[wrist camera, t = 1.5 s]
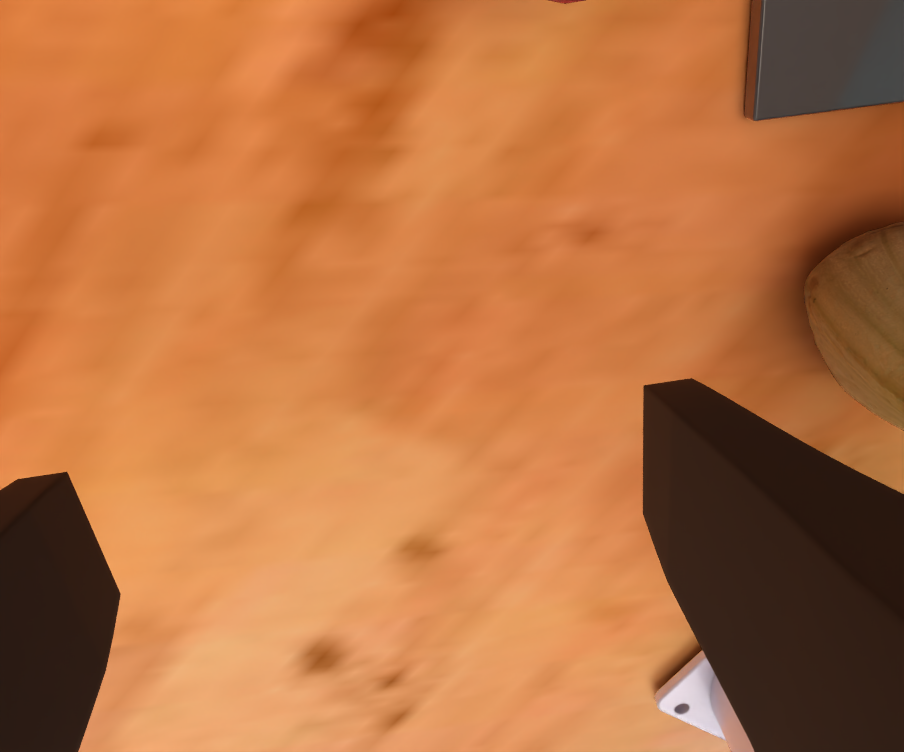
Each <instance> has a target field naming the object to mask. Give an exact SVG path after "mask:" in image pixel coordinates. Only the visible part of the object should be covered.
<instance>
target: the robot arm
mask: <svg viewBox="0 0 904 752" xmlns="http://www.w3.org/2000/svg"><path fill="white" fill-rule="evenodd" d="M643 515H644V518H645V521H646V524H647V526H648V529H649V532H650V535H651V538H652V541H653V544H654V547H655V549H656V552H657V555H658V558H659V560H660V563H661V566H662V568H663V571H664V574H665V576H666V579H667V581H668V583H669V585H670V588H671V590H672V592H673V594H674V596H675V598H676V600H677V601H678V603H679V605H680V607H681V609H682V611H683V613H684V615H685V617H686V619H687V621H688V623H689V625H690V627H691V629H692V631H693V633H694V635H695V637H696V639H697V641H698V642H699V644H700V646H701V648H702V651H700V652H699V653H698V654H697V655H696V656H695V657H694V658H693V659H692V660H691V661H690V662H688V663H687V664H686V665H685V666H684V667H683V668H682V669H681V670H680V671H679V672H678V673H676V674H675V675H674V676H673V677H672V678H671V679H670V680H669V681H668V682H667V683H666V684H664V685H663V686H662V687H661V688H660V689H659V690H658V691H657V693H656V694H655V697H654V699H655V701H656V704H657V707H658V709H659V710H661V711H662V712H664V713H666V714H669V715H671V716H673V717H675V718H677V719H680V720H682V721H684V722H686V723H688V724H690V725H693V726H695V727H697V728H699V729H701V730H704V731H706V732H708V733H710V734H712V735H715V736H717V737H719V738H721V739H723V740H725V741H727V744H728V746H729V748H730V750H731V752H904V494H902V493H900V492H898V491H896V490H894V489H892V488H890V487H888V486H886V485H884V484H882V483H880V482H878V481H876V480H874V479H872V478H870V477H868V476H866V475H863V474H861V473H859V472H858V471H856V470H854V469H852V468H850V467H848V466H846V465H844V464H842V463H841V462H839V461H837V460H835V459H833V458H831V457H829V456H827V455H826V454H824V453H822V452H820V451H818V450H816V449H815V448H813V447H811V446H809V445H808V444H806V443H804V442H802V441H800V440H799V439H797V438H795V437H793V436H792V435H790V434H788V433H786V432H785V431H783V430H781V429H779V428H778V427H776V426H774V425H772V424H771V423H769V422H767V421H766V420H764V419H762V418H761V417H759V416H757V415H755V414H754V413H752V412H750V411H749V410H747V409H745V408H744V407H742V406H740V405H738V404H737V403H735V402H733V401H732V400H730V399H728V398H727V397H725V396H723V395H721V394H720V393H718V392H716V391H714V390H713V389H711V388H709V387H707V386H705V385H704V384H702V383H700V382H698V381H696V380H694V379H692V378H691V379H684V380H677V381H671V382H664V383H657V384H651V385H644V410H643ZM119 600H120V592H119V589H118V587H117V585H116V582H115V580H114V578H113V576H112V573H111V571H110V569H109V566H108V564H107V562H106V560H105V557H104V555H103V553H102V550H101V548H100V546H99V544H98V541H97V539H96V537H95V534H94V532H93V530H92V528H91V525H90V523H89V521H88V518H87V516H86V514H85V512H84V509H83V507H82V505H81V502H80V500H79V498H78V496H77V493H76V491H75V489H74V486H73V484H72V482H71V480H70V477H69V475H68V473H67V472H63V473H56V474H50V475H43V476H36V477H30V478H23V479H17V480H16V481H14V482H13V483H11V484H9V485H8V486H6V487H5V488H3V489H2V490H0V752H78V750H79V748H80V745H81V742H82V739H83V736H84V733H85V730H86V728H87V725H88V722H89V719H90V716H91V713H92V710H93V707H94V704H95V701H96V698H97V695H98V692H99V689H100V686H101V683H102V680H103V677H104V674H105V671H106V667H107V662H108V658H109V653H110V648H111V643H112V639H113V634H114V628H115V623H116V617H117V611H118V606H119Z"/></svg>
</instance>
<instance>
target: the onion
mask: <svg viewBox="0 0 904 752" xmlns="http://www.w3.org/2000/svg"><path fill="white" fill-rule="evenodd" d="M549 1H554V2H559V3H564V4H566V3H572V2H578V1H584V0H549Z"/></svg>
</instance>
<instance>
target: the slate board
mask: <svg viewBox="0 0 904 752" xmlns="http://www.w3.org/2000/svg"><path fill="white" fill-rule="evenodd" d="M901 102H904V0H752V7H751V22H750V37H749V52H748V66H747V81H746V96H745V111H744V115H745V117H746V118H748V119H751V120H753V121H761V120H769V119H777V118H785V117H792V116H800V115H808V114H816V113H823V112H831V111H839V110H847V109H854V108H862V107H870V106H878V105H885V104H893V103H901Z"/></svg>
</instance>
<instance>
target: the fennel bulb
mask: <svg viewBox="0 0 904 752" xmlns="http://www.w3.org/2000/svg"><path fill="white" fill-rule="evenodd" d="M804 294H805V296H804V303H805V306H806V310H807V315H808V320H809V324H810V328H811V329H812V331H813V334H814V342H815V344H816V346H817V347H818V349H819V351H820V353H821V355H822V357H823V359H824V361H825V363H826V365H827V366H828V368H829V370H830V371H831V373H832V375H833V376H834V378H835V379H836V380H837V382H838V383H839V385H840V386H841V387H842V388H843V389H844V390H845V392H847V393H848V394H849V395H850V396H851V397H852V398H854V399H855V400H856V401H857V402H859V403H860V404H862V405H863V406H864V407H866V408H867V409H868V410H869V411H871V412H873V413H874V414H875V415H877V416H878V417H880V418H881V419H883V420H885V421H887V422H889V423H890V424H892V425H894V426H896V427H898V428H900V429H901V430H903V431H904V222H898V223H894V224H891V225H888V226H886V227H883V228H880V229H876V230H873V231H867V232H866V233H864V234H862V235H859V236H857V237H854V238H853V239H851V240H849V241H847V242H844V243H843V244H842V245H841V246H840V247H839V248H837V249H836V250H834V251H833V252H832V253H830V254H829V255H828V256H826V257H825V258H824V259H823V260H822V261H821V262H820V263H819V264H818V265H817V266H816V267H815V268H814V269H813V270H812V271H811V273H810V274H809V275H808V276H807V278H806V281H805V285H804Z"/></svg>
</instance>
